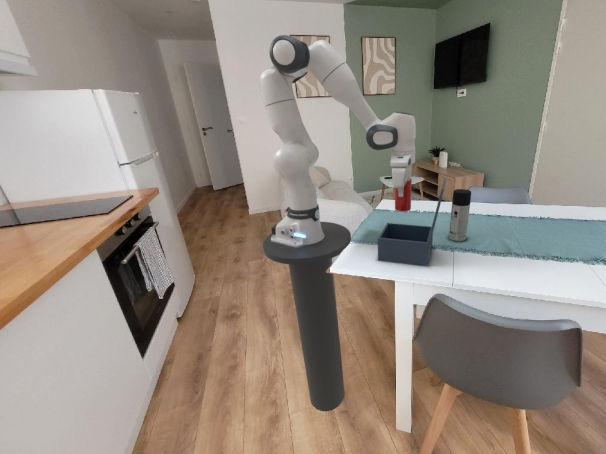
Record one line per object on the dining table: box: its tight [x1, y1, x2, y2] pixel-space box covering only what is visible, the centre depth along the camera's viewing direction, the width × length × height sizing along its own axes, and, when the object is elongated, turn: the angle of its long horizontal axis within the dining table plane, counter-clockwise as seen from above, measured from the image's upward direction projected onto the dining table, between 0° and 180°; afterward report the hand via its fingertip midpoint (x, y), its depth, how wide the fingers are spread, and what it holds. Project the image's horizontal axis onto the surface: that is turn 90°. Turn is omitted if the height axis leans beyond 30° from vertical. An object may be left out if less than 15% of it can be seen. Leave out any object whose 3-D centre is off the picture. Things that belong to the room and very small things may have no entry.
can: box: [394, 177, 413, 212], centre depth 114 cm, size 6×6×12 cm
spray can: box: [448, 188, 472, 243], centre depth 114 cm, size 7×7×20 cm
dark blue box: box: [377, 222, 434, 267], centre depth 106 cm, size 18×15×9 cm
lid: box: [428, 177, 447, 242], centre depth 98 cm, size 18×15×1 cm
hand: (403, 193), depth 114 cm, fingers closed on can, 6 cm apart
